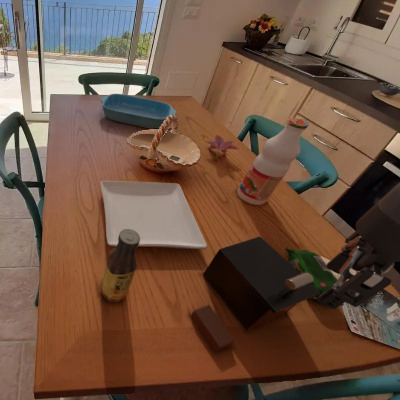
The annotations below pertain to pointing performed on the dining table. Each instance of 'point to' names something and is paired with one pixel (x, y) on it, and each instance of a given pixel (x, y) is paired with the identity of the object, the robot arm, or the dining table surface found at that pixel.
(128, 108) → the casserole dish
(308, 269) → the snack package
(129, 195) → the square plate
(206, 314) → the chocolate bar
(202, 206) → the dining table surface
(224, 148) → the lily
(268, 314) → the waste bin
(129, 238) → the sauce bottle
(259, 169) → the fruit juice
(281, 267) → the bin lid
